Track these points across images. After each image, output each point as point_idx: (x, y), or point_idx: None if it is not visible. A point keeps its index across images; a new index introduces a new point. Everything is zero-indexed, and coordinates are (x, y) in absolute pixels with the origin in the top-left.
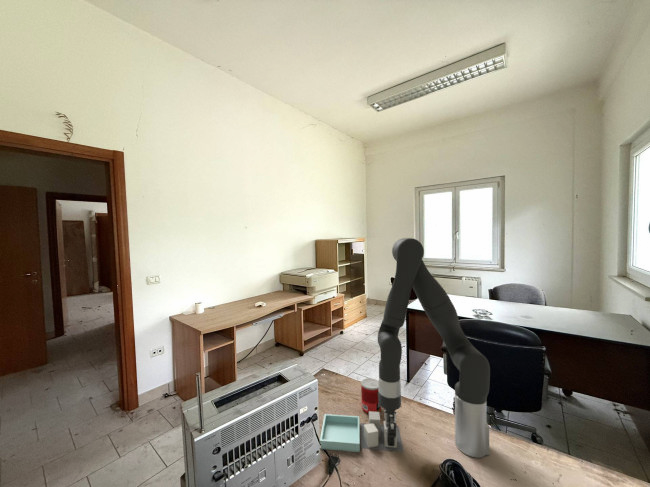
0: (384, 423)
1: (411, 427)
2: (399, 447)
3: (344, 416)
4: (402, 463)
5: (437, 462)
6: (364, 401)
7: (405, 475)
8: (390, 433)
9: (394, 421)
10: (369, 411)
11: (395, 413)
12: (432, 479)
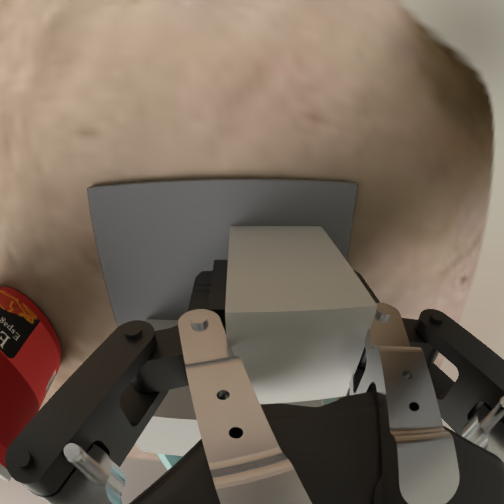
0: (267, 399)
1: (82, 87)
2: (318, 208)
3: (168, 461)
4: (418, 210)
5: (400, 3)
6: (38, 410)
7: (469, 211)
8: (428, 366)
9: (425, 410)
10: (140, 448)
11: (445, 496)
12: (486, 89)
